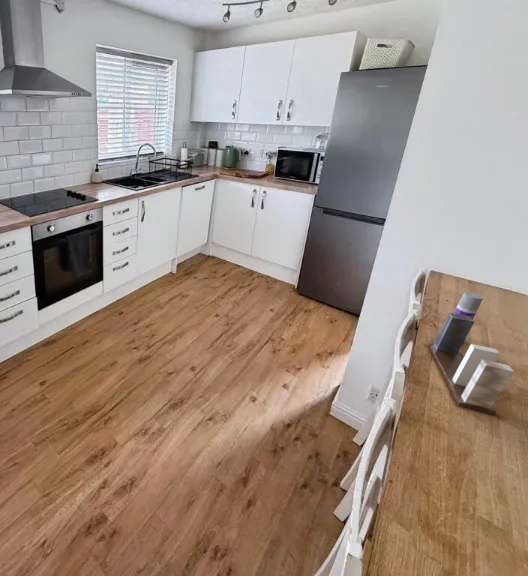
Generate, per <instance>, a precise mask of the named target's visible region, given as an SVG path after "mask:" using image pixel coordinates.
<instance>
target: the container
mask: <svg viewBox="0 0 528 576" xmlns="http://www.w3.org/2000/svg"><path fill="white" fill-rule="evenodd" d="M483 300H484V296H483V295H480V294H479V293H475V292H472V291H464V293H463V294H462V296H461V298H460V300H459V302H458V304H457V306H456V307H455V310H454V312H453V313H455V314H460V315H465V316H470V317H471V318H472V319H473V320H474V318H475V316H476V314H477V313H478V310H479V308H480V306H481V304H482V302H483Z"/></svg>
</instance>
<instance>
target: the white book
mask: <svg viewBox="0 0 528 576" xmlns="http://www.w3.org/2000/svg"><path fill="white" fill-rule="evenodd" d="M500 354H501V353H500V352H499V351H498V350H497V348H493V347H488V346H482V345H478V344H474V343H470V345H469V347H468V349H467V351H466V352H465V355H464V356H463V357H462V358H463V360H462V362H461V364H460V366H459V368H458V369H457V371H456V373H455V375H454V377H453V379H452V380H453V381H454V383H455V384H458V385H462V386H466V387H467V385H468V383H469V381H470V380H471V378H472V376H473V374H474V373H475V371H476V369H477V367H478V366H479V364H480V362H481V360H482V359H483V360H487V361H491V362H496V361H497V359H498V358H499V356H500Z"/></svg>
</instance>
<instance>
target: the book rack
mask: <svg viewBox="0 0 528 576" xmlns="http://www.w3.org/2000/svg"><path fill="white" fill-rule="evenodd" d="M474 324H475V320H474V318H473V319H472V318H471V317H470V316H465V315H460V314H455V313H454V312H448V314H447V316H446V318H445V320H444V322H443V324H442V327H441V328H440V329H439V332H438V334H437V336H436V339H435V341H434V343H428V346H427V347H428V349H429V350H430V353H431V354H432V356H433V358H434V360H435V362H436V364H437V366H438V368H439V371H440V373H441V374H442V376H443V378H444V380H445V382H446V384H447V386H448V388H449V391H450V393H451V394H452V396H453V398H454V400H455V402H456V404H457V406H458V407H463V408H466V409H470V410H474V411H478V412H482V413H485V414H490V415H493V416H495V415H496V413H497V410H496V409H495V407H494V404H495V403H496V401H497V399H498V398H499V396H500V394H501V393H502V391H503V389H504V388H505V387H506V385H507V383H508V382H509V381H510V378H511V377H512V375H513V374H514V372H515V371H514V370H513V369H512V367H511V366H510V365H508V364H504V363H500V362H496V361H495V362H491V361H487V360H483V359H482V360H481V362H480V364H479V366H478V367H477V369H476V371H475V373H474V374H473V376H472V378H471V380H470V381H469V383H468V385H467V387H466V386H462V385H458V384H455V383H454V381H453V380H452V379H453V377H454V375H455V373H456V371H457V369H458V368H459V366H460V364H461V362H462V360H463V358H464V357H463V356H462V354H461V353H460V351H461V349H462V347H463V345H464V343H465V341H466V339H467V337H468V336H469V333H470V331H471V330H472V328H473V326H474Z"/></svg>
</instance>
